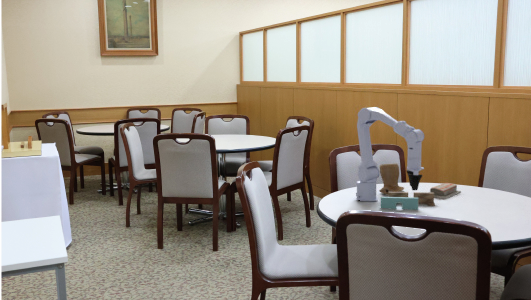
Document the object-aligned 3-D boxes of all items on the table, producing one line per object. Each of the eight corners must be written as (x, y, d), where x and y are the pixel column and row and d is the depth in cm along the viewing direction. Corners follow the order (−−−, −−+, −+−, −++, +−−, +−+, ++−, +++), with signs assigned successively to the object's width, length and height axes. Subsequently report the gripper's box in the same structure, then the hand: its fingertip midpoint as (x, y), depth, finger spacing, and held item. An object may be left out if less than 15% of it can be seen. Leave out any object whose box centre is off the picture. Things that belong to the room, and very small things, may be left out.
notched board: (388, 204, 215) (389, 194, 214) (387, 200, 223) (388, 190, 222) (434, 205, 211) (435, 195, 210) (432, 201, 219) (432, 190, 218)
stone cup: (384, 188, 247) (384, 160, 245) (406, 190, 240) (407, 162, 238) (373, 194, 235) (373, 164, 233) (396, 197, 228) (396, 166, 226)
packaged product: (442, 181, 241) (461, 183, 234) (441, 190, 242) (460, 193, 234) (424, 187, 229) (444, 190, 221) (424, 196, 229) (444, 200, 222)
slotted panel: (380, 208, 209) (380, 197, 208) (380, 207, 211) (380, 196, 210) (418, 209, 206) (418, 198, 205) (417, 208, 208) (417, 197, 207)
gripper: (426, 160, 196) (425, 192, 198) (421, 154, 210) (421, 184, 212) (408, 160, 197) (408, 191, 199) (405, 154, 211) (404, 184, 213)
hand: (413, 188), depth 206 cm, fingers open, 7 cm apart
